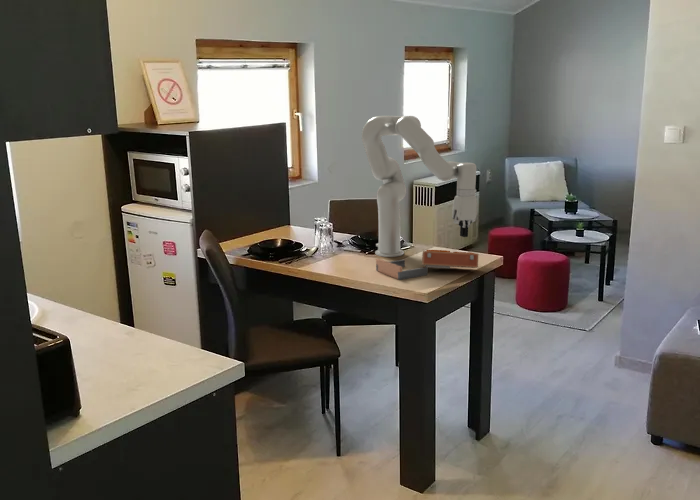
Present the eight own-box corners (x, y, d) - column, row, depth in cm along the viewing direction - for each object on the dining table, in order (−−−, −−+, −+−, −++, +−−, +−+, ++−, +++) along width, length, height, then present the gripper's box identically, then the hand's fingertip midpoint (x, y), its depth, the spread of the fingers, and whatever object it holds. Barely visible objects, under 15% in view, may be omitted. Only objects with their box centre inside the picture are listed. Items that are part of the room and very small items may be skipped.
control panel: (475, 253, 268) (479, 251, 253) (474, 270, 268) (478, 269, 253) (422, 250, 270) (423, 248, 255) (421, 267, 270) (422, 266, 255)
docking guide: (376, 271, 264) (376, 259, 263) (403, 266, 271) (403, 254, 270) (399, 279, 251) (399, 267, 250) (427, 274, 257) (427, 262, 256)
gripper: (473, 190, 278) (471, 233, 282) (445, 192, 270) (444, 236, 274) (485, 192, 271) (483, 236, 275) (457, 195, 264) (455, 239, 268)
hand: (463, 236), depth 275 cm, fingers closed
